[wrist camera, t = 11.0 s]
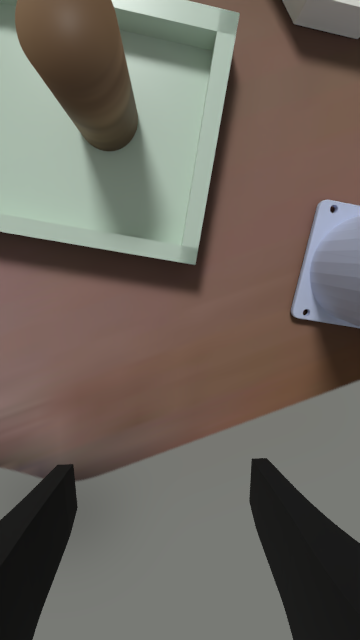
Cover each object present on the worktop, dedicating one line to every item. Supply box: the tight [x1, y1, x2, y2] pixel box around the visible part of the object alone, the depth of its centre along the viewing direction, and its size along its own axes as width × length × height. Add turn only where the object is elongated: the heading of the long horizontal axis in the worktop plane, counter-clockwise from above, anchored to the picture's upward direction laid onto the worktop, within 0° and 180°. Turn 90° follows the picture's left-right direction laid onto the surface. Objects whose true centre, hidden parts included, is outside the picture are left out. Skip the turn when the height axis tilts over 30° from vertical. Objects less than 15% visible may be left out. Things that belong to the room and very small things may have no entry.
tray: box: [0, 0, 240, 265], centre depth 17 cm, size 15×13×2 cm
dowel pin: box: [15, 0, 138, 151], centre depth 14 cm, size 4×4×7 cm
